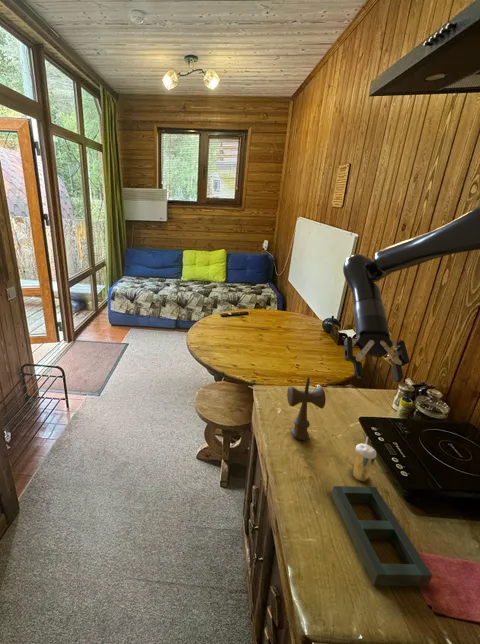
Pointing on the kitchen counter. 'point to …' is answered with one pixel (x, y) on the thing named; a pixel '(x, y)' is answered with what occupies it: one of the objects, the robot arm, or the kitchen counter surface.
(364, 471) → the milkshake
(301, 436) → the kendama
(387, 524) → the frame
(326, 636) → the kitchen counter surface
